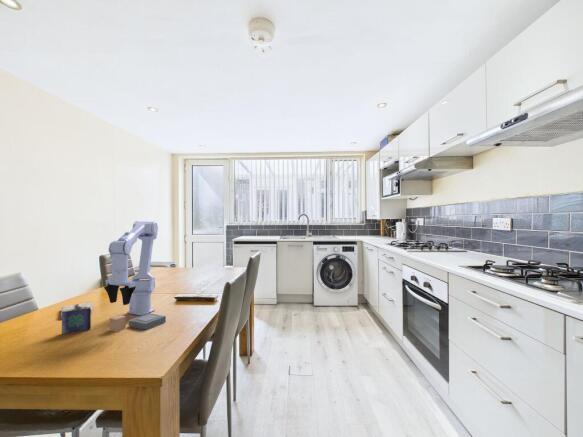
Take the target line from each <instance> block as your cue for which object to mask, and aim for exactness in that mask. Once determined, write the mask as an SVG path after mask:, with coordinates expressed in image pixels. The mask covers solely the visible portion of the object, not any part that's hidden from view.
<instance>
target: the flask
mask: <svg viewBox="0 0 583 437" xmlns="http://www.w3.org/2000/svg"><path fill="white" fill-rule="evenodd" d="M79 304H80V303H77V304H74V305H75V306H74V308H75V309H70V310H64V311H62V310H61V311H62V320H61V335H68V334H75V333H81V332H86V331H90V330H91V328H92V327H91V326H92V319H91V318H92V314H91V311H92V310H91V308H90V307H84V308H82V307H80V306H78V305H79Z"/></svg>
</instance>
